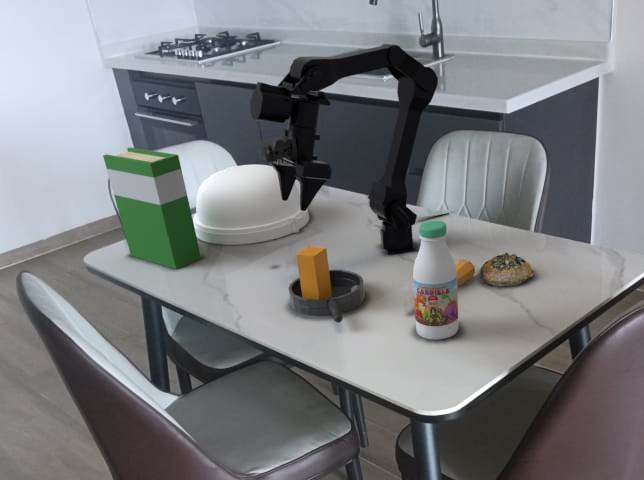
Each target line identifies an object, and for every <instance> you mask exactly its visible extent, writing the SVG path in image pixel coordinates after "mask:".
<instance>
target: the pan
mask: <svg viewBox="0 0 644 480" xmlns="http://www.w3.org/2000/svg"><path fill="white" fill-rule="evenodd" d="M329 274H330V282H331V290H332V298H329V299H307V298H303V297H302V290H301V284H300V277H299V276H298V277H296V279H294V280H293V281H292V282H290V284H289V285H288V295H289V302H290V306H291V308H292V310H294V311H295V312H296V313H298V314H301V315H303V316H304V315H305V316H308V317H330V316H333V315H332V313H331V310H330V308H329V305H328V302H329V300H331V299H334V300H336V302H337V305H338V307H339V310H340V312H341V314H344V313H347V312H350V311H353V310H354V309H355V310H356V309H357V308H358V307H359V306H361V305H362V304H363V302H364V301H365V298H366V292H365V291H366V290H365V282H364V279H363V276H361V275H360V274H358V273H357V272H354V271H351V270H345V269H329Z"/></svg>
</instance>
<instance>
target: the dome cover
mask: <svg viewBox="0 0 644 480" xmlns="http://www.w3.org/2000/svg"><path fill="white" fill-rule="evenodd" d="M298 189H299V188H298V186H297V184H296V183H294V185H293V188H292V191H291V193H290V195H289V198H288V200H287V201H284V200H282V197H281V191H280V185H279V179H278V174H277V172H276V170H275V169H274V168H273V167H272V166H271V165H268V164H258V163H257V164H256V163H255V164H253V163H252V164H242V165H241V164H240V165H236V166H230V167H227V168H224V169H221V170H219V171H216V172H214V173H212V174H210V175H209V176H208V177H206V179H204V180H203V181H202V183H201V184H200V186H199V188H198V191H197V194H196V198H195V199H196V200H195V210H196V212H195V214H194V216H193V217H192V219H193V223H194V228H195V232H196V236H197V239H199V240H201V241H203V242H205V243H210V244H216V245H224V246H225V245H228V246H232V245H249V244H256V243H257V244H258V243H262V242H267V241H268V242H269V241H272V240H276V239H280V238H282V237H286V236H288V235H291V234H296V233H299V232H300V230H301V229H302V228H303V227H306V225H307V224H308V223H309V221H310V214H309V213H310V212H309V207H308V208H307V210H306V211H302V210H300V191H299V190H298Z"/></svg>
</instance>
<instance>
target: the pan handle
mask: <svg viewBox="0 0 644 480" xmlns="http://www.w3.org/2000/svg"><path fill="white" fill-rule="evenodd" d="M328 305H329V308H330V310H331V313H332V315H331V316H332V317H333V321H334V322H335V323H337V324H339V323H341V322H343V319H344V317H343V314H342V313H341V312H340V310H339V307H338V305H337V302H336V300H334V299H331V300H329V302H328Z"/></svg>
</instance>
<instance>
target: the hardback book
mask: <svg viewBox="0 0 644 480" xmlns="http://www.w3.org/2000/svg"><path fill="white" fill-rule="evenodd" d="M102 157H103V161H104V164H105V169H106V172H107V175H108V179H109V182H110V185H111V190H112V193H113V197H114V200H115V204H116V209H117V212H118V214H119V218H120V222H121V226H122V229H123V233H124V236H125V241H126V243H127V247H128V251H129V255H130V256H131V257H133V258H137V259H141V260H145V261H148V262H152V263H155V264H157V265H160V266H161V265H162V266H165V267H168V268H172V269H175V270H177V269H180V268H182V267H184V266H186V265H189V264H191V263H193V262H196V261H198V260H200V259H202V256H201V250H200V247H199V246H200V245H199V242H198V238H197V236H196V232H195V228H194V223H193V215H192V210H191V206H190V205H191V204H190V202H189V197H188V193H187V192H188V191H187V188H186V184H185V178H184V175H183V170H182V166H181V162H180V157H179V154H175V153H168V152H163V151H157V150H149V149H143V148H137V147H127V152H123V153H120V154H115V155H112V154H107V153H106V154H103V155H102Z"/></svg>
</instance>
